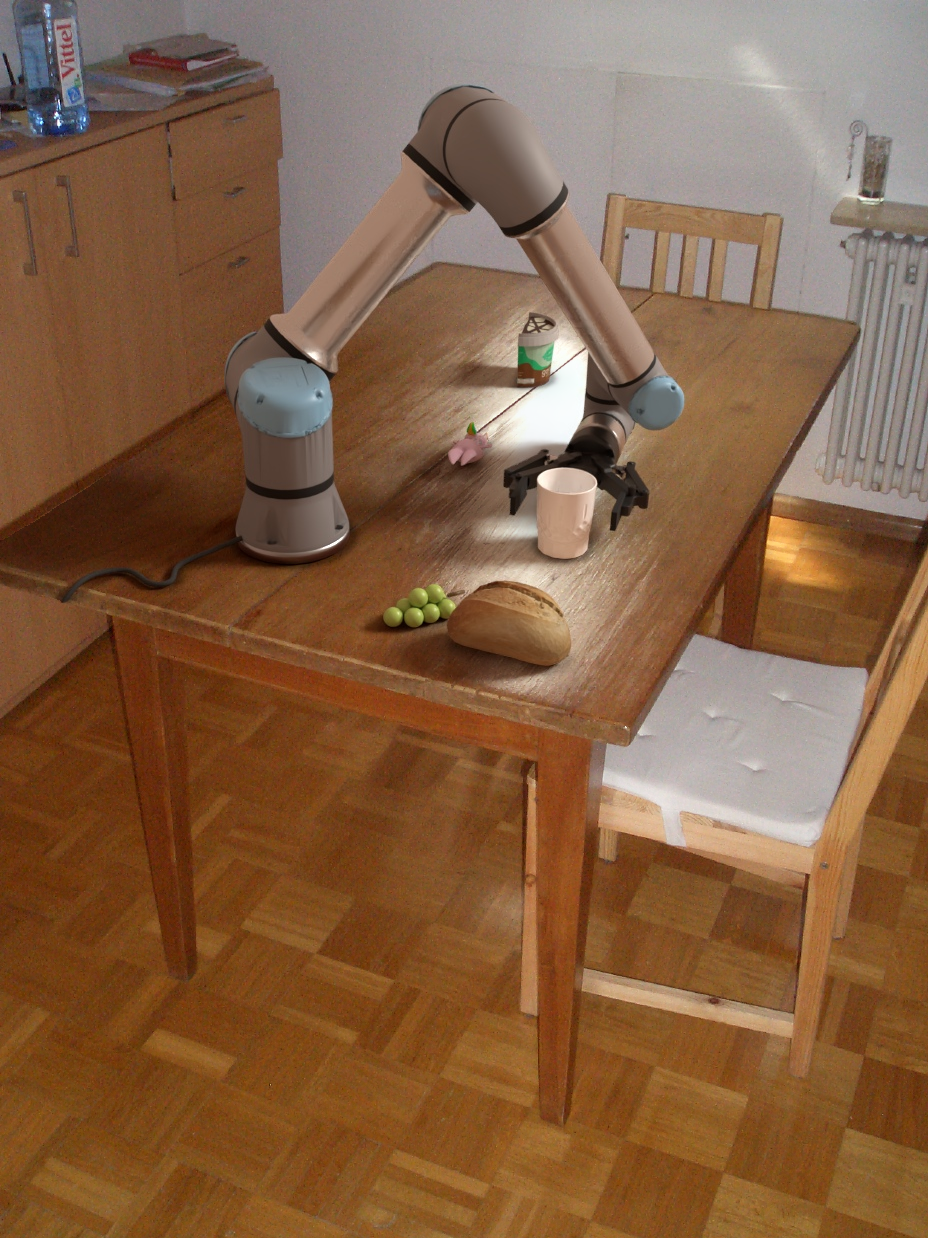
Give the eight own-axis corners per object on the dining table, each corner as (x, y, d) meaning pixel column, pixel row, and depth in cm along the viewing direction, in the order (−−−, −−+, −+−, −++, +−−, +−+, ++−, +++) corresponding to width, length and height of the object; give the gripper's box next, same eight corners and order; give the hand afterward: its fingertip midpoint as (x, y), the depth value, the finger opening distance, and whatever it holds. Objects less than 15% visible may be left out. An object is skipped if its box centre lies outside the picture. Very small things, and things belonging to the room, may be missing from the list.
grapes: (392, 637, 152) (392, 607, 149) (376, 618, 155) (375, 588, 153) (473, 615, 156) (474, 586, 154) (455, 597, 160) (456, 568, 157)
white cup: (593, 562, 168) (599, 494, 163) (534, 560, 168) (538, 493, 163) (589, 534, 175) (594, 468, 169) (532, 532, 175) (536, 466, 169)
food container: (550, 393, 217) (554, 337, 212) (515, 390, 218) (518, 334, 212) (560, 368, 227) (564, 313, 222) (526, 364, 228) (529, 310, 223)
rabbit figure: (459, 447, 201) (435, 472, 187) (461, 410, 198) (437, 433, 185) (497, 452, 200) (477, 478, 186) (500, 415, 197) (479, 438, 184)
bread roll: (460, 617, 156) (461, 561, 151) (579, 638, 152) (583, 581, 148) (436, 659, 148) (437, 601, 144) (561, 682, 144) (565, 623, 140)
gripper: (677, 485, 183) (653, 553, 166) (510, 460, 189) (470, 524, 172) (683, 437, 179) (659, 502, 162) (512, 414, 185) (472, 474, 168)
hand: (562, 513), depth 167 cm, fingers open, 13 cm apart
